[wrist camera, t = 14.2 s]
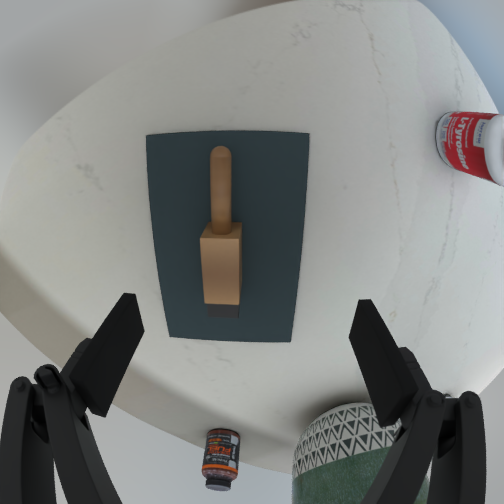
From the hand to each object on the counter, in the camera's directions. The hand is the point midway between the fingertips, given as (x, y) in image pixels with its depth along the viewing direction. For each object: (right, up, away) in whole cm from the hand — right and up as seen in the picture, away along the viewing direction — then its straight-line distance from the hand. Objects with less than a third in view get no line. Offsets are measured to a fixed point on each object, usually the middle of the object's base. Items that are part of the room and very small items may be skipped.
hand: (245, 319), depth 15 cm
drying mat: (-2, +4, +11) cm, 12 cm away
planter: (+15, -23, +23) cm, 36 cm away
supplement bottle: (-5, -29, +26) cm, 39 cm away
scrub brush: (-2, +6, +10) cm, 12 cm away
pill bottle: (+21, +15, +6) cm, 27 cm away
